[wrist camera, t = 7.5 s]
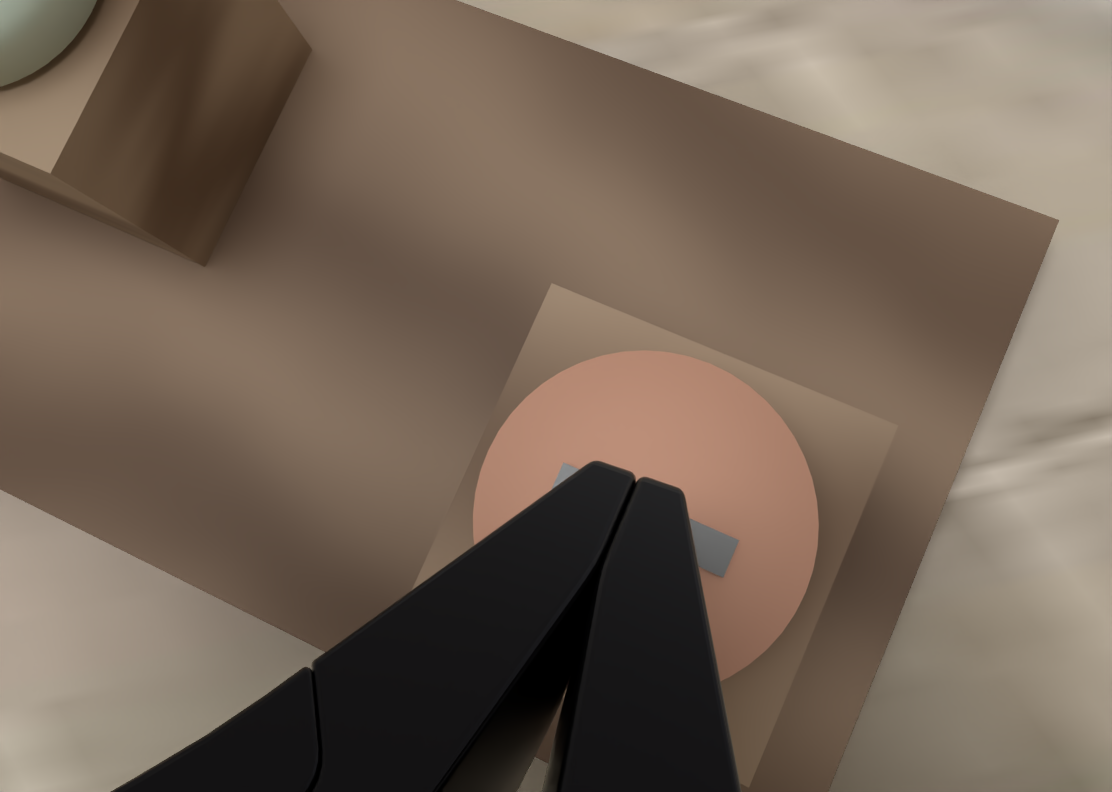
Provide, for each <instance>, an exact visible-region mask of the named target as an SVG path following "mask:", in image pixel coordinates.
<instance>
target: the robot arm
mask: <svg viewBox="0 0 1112 792" xmlns="http://www.w3.org/2000/svg"><path fill="white" fill-rule="evenodd" d="M566 689H567V690H566ZM565 691H566V693H565ZM564 694H565V697H564V701H563V704H562V708H561V712H560V716H559V720H558V724H557V728H556V732H555V736H554V741H553V745H552V750H551V754H550V759H549V763H548V768H547V772H546V777H545V781H544V786H543V790H542V792H742V791H741V786H740V781H739V775H738V770H737V765H736V760H735V754H734V749H733V744H732V739H731V733H730V728H729V723H728V718H727V712H726V707H725V702H724V697H723V692H722V686H721V681H720V676H719V671H718V665H717V660H716V655H715V650H714V644H713V639H712V634H711V629H710V623H709V618H708V613H707V608H706V602H705V597H704V592H703V587H702V581H701V576H700V571H699V566H698V561H697V555H696V550H695V545H694V540H693V534H692V529H691V524H690V519H689V513H688V508H687V503H686V498H685V495H684V493H683V491H682V490H681V489H680V488H678V487H675V486H672V485H669V484H666V483H663V482H661V481H658V480H655V479H652V478H649V477H641V478H639V479H638V480H637V482H636V477H635V475H634V474H633V472H631V471H628V470H625V469H622V468H619V467H616V466H613V465H611V464H608V463H605V462H602V461H592V462H590V463H588V464H586V465H585V466H584V467H582V468H581V469H579V470H578V471H577V472H575V473H574V474H572V475H571V476H570V477H568V478H567V479H566V480H564V481H563V482H561V483H560V484H559V485H557V486H556V487H554V488H553V489H552V490H550V491H549V492H547V493H546V494H545V495H543V496H542V497H541V498H539V499H538V500H536V501H535V502H534V503H532V504H531V505H529V506H528V507H527V508H525V509H524V510H522V511H521V512H520V513H518V514H517V515H516V516H514V517H513V518H511V519H510V520H509V521H507V522H506V523H504V524H503V525H502V526H500V527H499V528H497V529H496V530H495V531H493V532H492V533H491V534H489V535H488V536H486V537H485V538H484V539H482V540H481V541H479V542H478V543H477V544H475V545H474V546H472V547H471V548H470V549H468V550H467V551H466V552H464V553H463V554H461V555H460V556H459V557H457V558H456V559H454V560H453V561H452V562H450V563H449V564H447V565H446V566H445V567H443V568H442V569H441V570H439V571H438V572H436V573H435V574H434V575H432V576H431V577H429V578H428V579H427V580H425V581H424V582H422V583H421V584H420V585H418V586H417V587H416V588H414V589H413V590H411V591H410V592H409V593H407V594H406V595H404V596H403V597H402V598H400V599H399V600H397V601H396V602H395V603H393V604H392V605H391V606H389V607H388V608H386V609H385V610H384V611H382V612H381V613H379V614H378V615H377V616H375V617H374V618H372V619H371V620H370V621H368V622H367V623H365V624H364V625H363V626H361V627H360V628H359V629H357V630H356V631H354V632H353V633H352V634H350V635H349V636H347V637H346V638H345V639H343V640H342V641H340V642H339V643H338V644H336V645H335V646H334V647H332V648H331V649H329V650H328V651H327V652H325V653H324V654H322V655H321V656H320V657H318V658H317V659H315V660H314V661H313V663H312V670H311V669H310V668H308V667H304V668H302V669H301V670H299V671H298V672H297V673H295V674H294V675H293V676H291V677H290V678H288V679H287V680H286V681H284V682H283V683H281V684H280V685H279V686H277V687H276V688H275V689H273V690H272V691H270V692H269V693H268V694H266V695H265V696H263V697H262V698H260V699H259V700H258V701H256V702H255V703H253V704H252V705H250V706H249V707H247V708H246V709H244V710H243V711H241V712H240V713H238V714H237V715H235V716H234V717H232V718H231V719H229V720H228V721H226V722H225V723H223V724H222V725H221V726H219V727H218V728H216V729H215V730H213V731H212V732H210V733H209V734H207V735H206V736H204V737H202V738H201V739H199V740H197V741H196V742H194V743H192V744H191V745H189V746H187V747H186V748H184V749H182V750H181V751H179V752H177V753H176V754H174V755H172V756H171V757H169V758H167V759H166V760H164V761H162V762H161V763H159V764H157V765H156V766H154V767H152V768H151V769H149V770H147V771H146V772H144V773H142V774H140V775H139V776H137V777H135V778H134V779H132V780H130V781H128V782H127V783H125V784H123V785H121V786H120V787H118V788H116V789H114V790H113V791H111V792H517V790H518V788H519V786H520V784H521V782H522V780H523V778H524V776H525V774H526V772H527V770H528V768H529V766H530V765H531V763H532V761H533V759H534V757H535V755H536V753H537V751H538V749H539V747H540V745H541V743H542V741H543V739H544V737H545V735H546V733H547V731H548V729H549V727H550V725H551V723H552V721H553V719H554V717H555V715H556V713H557V710H558V708H559V706H560V704H561V701H562V699H563V696H564Z"/></svg>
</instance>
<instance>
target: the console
mask: <svg viewBox="0 0 1112 792" xmlns="http://www.w3.org/2000/svg"><path fill="white" fill-rule="evenodd" d="M1058 222H1059V220H1057V219H1054V218H1052V217H1049V216H1046V215H1043V214H1041V213H1038V212H1035V211H1032V210H1030V209H1027V208H1024V207H1021V206H1019V205H1016V204H1013V203H1010V202H1008V201H1005V200H1002V199H1000V198H997V197H994V196H991V195H989V194H986V193H983V192H980V191H978V190H975V189H972V188H969V187H967V186H964V185H961V184H958V183H956V182H953V181H950V180H947V179H945V178H942V177H939V176H936V175H934V174H931V173H928V172H925V171H923V170H920V169H917V168H915V167H912V166H909V165H906V164H904V163H901V162H898V161H895V160H893V159H890V158H887V157H884V156H882V155H879V154H876V153H873V152H871V151H868V150H865V149H862V148H860V147H857V146H854V145H851V144H849V143H846V142H843V141H841V140H838V139H835V138H832V137H830V136H827V135H824V134H821V133H819V132H816V131H813V130H810V129H808V128H805V127H802V126H799V125H797V124H794V123H791V122H788V121H786V120H783V119H780V118H777V117H775V116H772V115H769V114H767V113H764V112H761V111H758V110H756V109H753V108H750V107H747V106H745V105H742V104H739V103H736V102H734V101H731V100H728V99H725V98H723V97H720V96H717V95H714V94H712V93H709V92H706V91H703V90H701V89H698V88H695V87H692V86H690V85H687V84H684V83H682V82H679V81H676V80H673V79H671V78H668V77H665V76H662V75H660V74H657V73H654V72H651V71H649V70H646V69H643V68H640V67H638V66H635V65H632V64H629V63H627V62H624V61H621V60H618V59H616V58H613V57H610V56H608V55H605V54H602V53H599V52H597V51H594V50H591V49H588V48H586V47H583V46H580V45H577V44H575V43H572V42H569V41H566V40H564V39H561V38H558V37H555V36H553V35H550V34H547V33H544V32H542V31H539V30H536V29H534V28H531V27H528V26H525V25H523V24H520V23H517V22H514V21H512V20H509V19H506V18H503V17H501V16H498V15H495V14H492V13H490V12H487V11H484V10H481V9H479V8H476V7H473V6H470V5H468V4H465V3H462V2H459V1H457V0H97V1H96V4H95V6H94V8H93V10H92V12H91V14H90V16H89V17H88V19H87V21H86V23H85V24H84V26H83V27H82V29H81V30H80V31H79V33H78V34H77V35H76V37H75V38H74V39H73V40H72V41H71V43H70V44H69V45H68V46H67V47H66V48H65V49H64V50H63V51H62V52H61V53H60V54H59V55H57V56H56V57H55V58H54V59H52V60H51V61H50V62H49V63H48V64H46V65H45V66H43V67H42V68H40V69H39V70H37V71H35V72H34V73H32V74H30V75H28V76H26V77H24V78H22V79H20V80H18V81H16V82H13V83H10V84H7V85H4V86H1V87H0V489H1V490H3V491H5V492H7V493H9V494H11V495H13V496H15V497H17V498H19V499H21V500H23V501H25V502H27V503H29V504H31V505H33V506H35V507H37V508H39V509H41V510H43V511H45V512H47V513H49V514H51V515H53V516H55V517H57V518H59V519H61V520H63V521H65V522H67V523H69V524H71V525H73V526H75V527H77V528H79V529H81V530H83V531H85V532H87V533H89V534H91V535H93V536H95V537H97V538H99V539H101V540H103V541H105V542H107V543H109V544H111V545H113V546H115V547H117V548H119V549H121V550H123V551H125V552H127V553H129V554H131V555H133V556H135V557H137V558H139V559H141V560H143V561H145V562H147V563H149V564H151V565H153V566H155V567H157V568H159V569H161V570H163V571H165V572H167V573H169V574H171V575H173V576H175V577H177V578H179V579H181V580H183V581H185V582H187V583H189V584H191V585H193V586H195V587H197V588H199V589H201V590H203V591H205V592H207V593H209V594H211V595H213V596H215V597H217V598H219V599H221V600H223V601H225V602H227V603H229V604H231V605H233V606H235V607H237V608H239V609H241V610H243V611H245V612H247V613H249V614H251V615H253V616H255V617H257V618H259V619H261V620H263V621H265V622H267V623H269V624H271V625H273V626H275V627H277V628H279V629H281V630H283V631H285V632H287V633H289V634H291V635H293V636H295V637H297V638H299V639H301V640H303V641H305V642H307V643H309V644H311V645H313V646H315V647H317V648H319V649H321V650H323V651H325V652H327V651H328V650H329V649H331V648H332V647H334V646H335V645H336V644H338V643H339V642H340V641H342V640H343V639H345V638H346V637H347V636H349V635H350V634H352V633H353V632H354V631H356V630H357V629H359V628H360V627H361V626H363V625H364V624H365V623H367V622H368V621H370V620H371V619H372V618H374V617H375V616H377V615H378V614H379V613H381V612H382V611H384V610H385V609H386V608H388V607H389V606H391V605H392V604H393V603H395V602H396V601H397V600H399V599H400V598H402V597H403V596H404V595H406V594H407V593H409V592H410V591H411V590H413V589H414V588H416V587H417V586H418V585H420V584H421V583H422V582H424V581H425V580H427V579H428V578H429V577H431V576H432V575H434V574H435V573H436V572H438V571H439V570H441V569H442V568H443V567H445V566H446V565H447V564H449V563H450V562H452V561H453V560H454V559H456V558H457V557H459V556H460V555H461V554H463V553H464V552H466V551H467V550H468V549H470V548H471V547H472V546H474V538H473V508H474V499H475V491H476V487H477V483H478V479H479V475H480V471H481V468H482V465H483V463H484V460H485V458H486V455H487V452H488V450H489V448H490V446H491V444H492V442H493V441H494V439H495V437H496V435H497V433H498V431H499V430H500V428H501V427H502V426H503V424H504V423H505V421H506V420H507V419H508V417H509V416H510V414H511V413H512V412H513V411H514V410H515V409H516V408H517V406H518V405H519V404H520V403H521V402H522V401H523V400H524V399H525V398H526V397H527V396H528V395H529V394H531V393H532V392H533V391H534V390H535V389H537V388H538V387H539V386H540V385H541V384H543V383H544V382H546V381H547V380H549V379H550V378H552V377H553V376H555V375H557V374H558V373H560V372H561V371H563V370H566V369H568V368H570V367H572V366H574V365H576V364H578V363H580V362H583V361H586V360H589V359H593V358H596V357H599V356H602V355H607V354H613V353H618V352H624V351H642V350H648V351H662V352H670V353H675V354H680V355H685V356H690V357H693V358H695V359H698V360H701V361H704V362H707V363H710V364H712V365H714V366H716V367H718V368H720V369H722V370H724V371H726V372H729V373H730V374H732V375H734V376H735V377H737V378H738V379H740V380H741V381H743V382H744V383H746V384H747V385H749V386H750V387H751V388H752V389H753V390H755V391H756V392H757V393H758V394H759V395H760V396H761V397H763V398H764V399H765V400H766V401H767V402H768V403H769V404H770V405H771V407H772V408H773V409H774V410H775V411H776V412H777V413H778V414H779V415H780V417H781V418H782V419H783V421H784V422H785V424H786V425H787V427H788V428H789V429H790V431H791V432H792V434H793V435H794V437H795V439H796V441H797V443H798V445H799V447H800V449H801V451H802V453H803V455H804V457H805V459H806V462H807V465H808V468H809V471H810V473H811V476H812V479H813V484H814V489H815V494H816V498H817V506H818V520H819V531H818V548H817V553H816V558H815V563H814V568H813V572H812V575H811V578H810V581H809V584H808V587H807V590H806V593H805V595H804V597H803V599H802V601H801V603H800V605H799V607H798V609H797V611H796V613H795V615H794V616H793V617H792V619H791V620H790V622H789V623H788V625H787V626H786V628H785V629H784V631H783V632H782V633H781V635H780V636H779V637H778V638H777V639H776V640H775V641H774V642H773V643H772V644H771V646H770V647H769V648H768V649H767V650H766V651H765V652H764V653H762V654H761V655H760V656H759V657H758V658H756V659H755V660H754V661H753V662H752V663H751V664H749V665H748V666H746V667H745V668H743V669H742V670H740V671H738V672H737V673H735V674H734V675H732V676H731V677H729V678H727V679H724V680H722V681H721V686H722V692H723V697H724V702H725V707H726V712H727V718H728V723H729V728H730V733H731V739H732V744H733V749H734V754H735V760H736V765H737V770H738V775H739V781H740V786H741V791H742V792H828V791H829V788H830V786H831V783H832V781H833V778H834V776H835V773H836V771H837V768H838V766H839V763H840V761H841V758H842V756H843V753H844V751H845V749H846V746H847V744H848V741H849V739H850V736H851V734H852V731H853V729H854V726H855V724H856V721H857V719H858V716H859V714H860V711H861V709H862V706H863V704H864V702H865V699H866V697H867V694H868V692H869V689H870V687H871V684H872V682H873V679H874V677H875V674H876V672H877V669H878V667H879V664H880V662H881V660H882V657H883V655H884V652H885V650H886V647H887V645H888V642H889V640H890V637H891V635H892V632H893V630H894V627H895V625H896V622H897V620H898V617H899V615H900V613H901V610H902V608H903V605H904V603H905V600H906V598H907V595H908V593H909V590H910V588H911V585H912V583H913V580H914V578H915V575H916V573H917V570H918V568H919V566H920V563H921V561H922V558H923V556H924V553H925V551H926V548H927V546H928V543H929V541H930V538H931V536H932V533H933V531H934V528H935V526H936V523H937V521H938V519H939V516H940V514H941V511H942V509H943V506H944V504H945V501H946V499H947V496H948V494H949V491H950V489H951V486H952V484H953V481H954V479H955V476H956V474H957V472H958V469H959V467H960V464H961V462H962V459H963V457H964V454H965V452H966V449H967V447H968V444H969V442H970V439H971V437H972V434H973V432H974V429H975V427H976V425H977V422H978V420H979V417H980V415H981V412H982V410H983V407H984V405H985V402H986V400H987V397H988V395H989V392H990V390H991V387H992V385H993V382H994V380H995V378H996V375H997V373H998V370H999V368H1000V365H1001V363H1002V360H1003V358H1004V355H1005V353H1006V350H1007V348H1008V345H1009V343H1010V340H1011V338H1012V336H1013V333H1014V331H1015V328H1016V326H1017V323H1018V321H1019V318H1020V316H1021V313H1022V311H1023V308H1024V306H1025V303H1026V301H1027V298H1028V296H1029V293H1030V291H1031V289H1032V286H1033V284H1034V281H1035V279H1036V276H1037V274H1038V271H1039V269H1040V266H1041V264H1042V261H1043V259H1044V256H1045V254H1046V251H1047V249H1048V246H1049V244H1050V242H1051V239H1052V237H1053V234H1054V232H1055V229H1056V227H1057V224H1058ZM566 690H567V689H566ZM565 693H566V691H565ZM564 697H565V694H564V696H563V699H562V701H561V704H560V706H559V708H558V710H557V713H556V715H555V717H554V719H553V721H552V723H551V725H550V727H549V729H548V731H547V733H546V735H545V737H544V739H543V741H542V743H541V745H540V747H539V749H538V751H537V753H536V755H535V757H537V758H539V759H541V760H543V761H545V762H547V763H549V759H550V754H551V750H552V745H553V741H554V736H555V732H556V728H557V724H558V720H559V716H560V712H561V708H562V704H563V701H564Z"/></svg>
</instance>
